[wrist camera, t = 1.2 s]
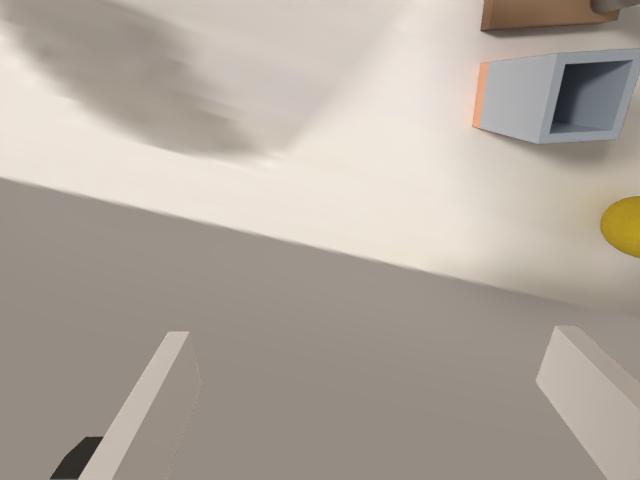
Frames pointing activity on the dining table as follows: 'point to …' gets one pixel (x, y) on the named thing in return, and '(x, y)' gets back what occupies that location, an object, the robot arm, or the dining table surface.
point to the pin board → (549, 12)
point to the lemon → (623, 225)
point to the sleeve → (557, 95)
